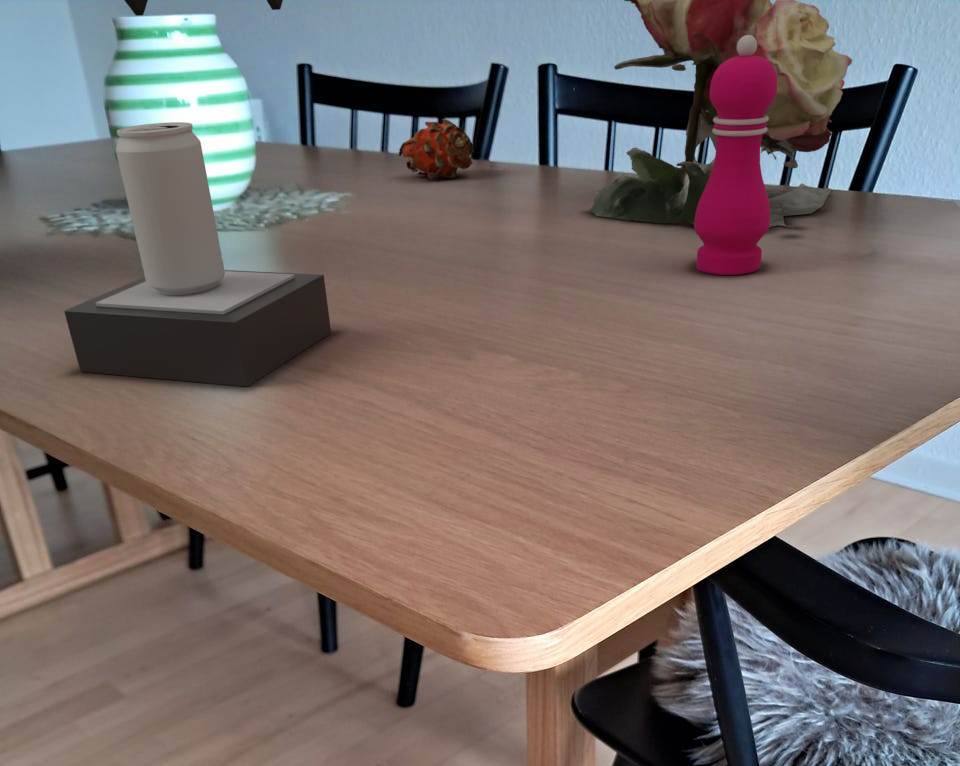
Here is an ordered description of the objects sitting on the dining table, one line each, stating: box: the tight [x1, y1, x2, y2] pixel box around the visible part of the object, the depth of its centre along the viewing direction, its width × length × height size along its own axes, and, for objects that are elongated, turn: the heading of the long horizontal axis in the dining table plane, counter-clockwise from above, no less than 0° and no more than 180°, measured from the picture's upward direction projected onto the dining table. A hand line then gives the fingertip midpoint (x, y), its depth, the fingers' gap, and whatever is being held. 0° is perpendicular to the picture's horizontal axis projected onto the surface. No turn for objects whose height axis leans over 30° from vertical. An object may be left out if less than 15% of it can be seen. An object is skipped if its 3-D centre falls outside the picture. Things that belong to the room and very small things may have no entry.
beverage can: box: [115, 121, 226, 295], centre depth 80 cm, size 6×6×12 cm
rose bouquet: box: [573, 0, 853, 235], centre depth 117 cm, size 26×29×30 cm
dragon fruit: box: [396, 118, 474, 181], centre depth 151 cm, size 8×8×12 cm
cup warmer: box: [63, 269, 332, 388], centre depth 85 cm, size 17×14×5 cm
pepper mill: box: [693, 35, 777, 276], centre depth 95 cm, size 7×7×20 cm
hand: (197, 0), depth 84 cm, fingers open, 13 cm apart
